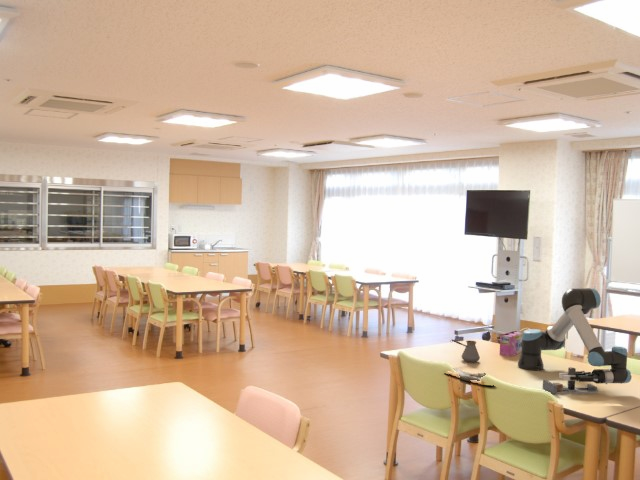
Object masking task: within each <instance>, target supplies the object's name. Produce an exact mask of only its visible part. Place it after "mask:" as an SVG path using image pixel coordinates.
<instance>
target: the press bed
mask: <svg viewBox="0 0 640 480" xmlns="http://www.w3.org/2000/svg"><path fill="white" fill-rule="evenodd" d="M575 388H576V389H578V390H579V391H558V392H557V394H552V395H599V392H598V390H597V386H596V385H593V384H592V383H586V386H582V387H581V386H579V387H578V386H577V387H576V386H575Z"/></svg>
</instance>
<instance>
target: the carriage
mask: <svg viewBox="0 0 640 480" xmlns="http://www.w3.org/2000/svg"><path fill="white" fill-rule="evenodd" d="M567 369H568V370H567V373H568V375H575V373H576V371H577V368H575V367H571V366H570V367H568V368H567ZM575 387H576V380H573V381H567V386H566V385H563V391H579V390H578V389H576V388H575Z"/></svg>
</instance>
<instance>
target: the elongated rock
mask: <svg viewBox="0 0 640 480" xmlns="http://www.w3.org/2000/svg"><path fill="white" fill-rule="evenodd" d="M455 371H456V372H458V373H459V376H460V379H459V380H462V381H466V382H470V380H477V381H480V379H481V377H483V376H485V375H487V373H485V372H480V373H479V372H477V373H471V372H466V371H463V370H458V369H455Z"/></svg>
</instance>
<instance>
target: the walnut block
mask: <svg viewBox="0 0 640 480" xmlns="http://www.w3.org/2000/svg"><path fill="white" fill-rule="evenodd" d="M552 383H553V384H555V385H557V392H558V391H563V386H564V384H562V383H560V382H552Z"/></svg>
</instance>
